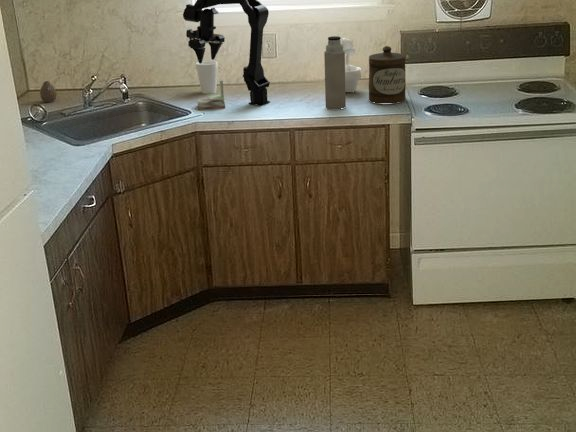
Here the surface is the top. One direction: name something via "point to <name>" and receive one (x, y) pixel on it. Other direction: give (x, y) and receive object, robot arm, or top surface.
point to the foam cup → (207, 76)
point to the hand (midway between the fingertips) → (206, 61)
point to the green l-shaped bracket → (218, 97)
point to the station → (211, 105)
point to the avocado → (48, 92)
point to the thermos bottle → (334, 74)
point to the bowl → (204, 100)
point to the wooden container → (387, 77)
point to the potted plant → (350, 67)
